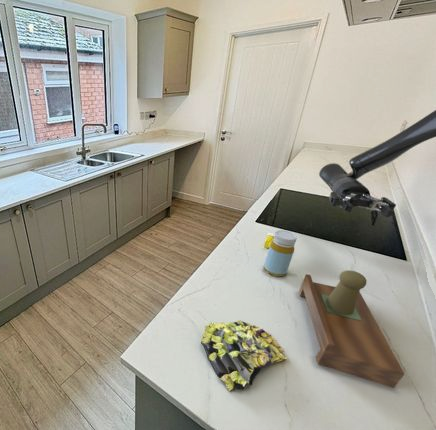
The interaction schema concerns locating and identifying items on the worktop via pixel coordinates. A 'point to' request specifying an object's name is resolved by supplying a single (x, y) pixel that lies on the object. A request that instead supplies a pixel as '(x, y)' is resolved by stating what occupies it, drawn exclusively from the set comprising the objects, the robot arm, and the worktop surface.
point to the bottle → (280, 253)
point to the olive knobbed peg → (346, 292)
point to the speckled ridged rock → (239, 351)
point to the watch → (269, 240)
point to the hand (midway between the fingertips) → (369, 211)
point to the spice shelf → (350, 338)
